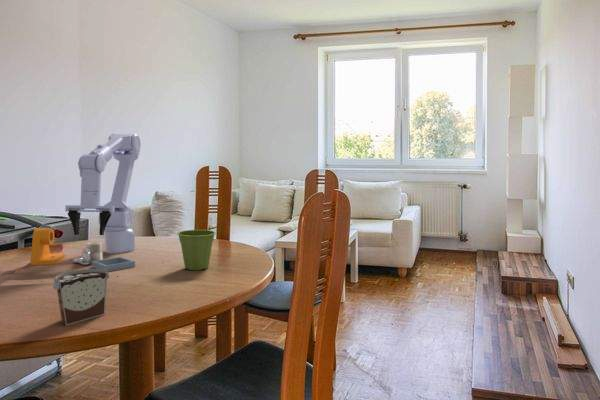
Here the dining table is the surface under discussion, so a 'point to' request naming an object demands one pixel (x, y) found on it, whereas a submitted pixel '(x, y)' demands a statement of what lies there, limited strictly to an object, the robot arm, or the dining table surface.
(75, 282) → the food container
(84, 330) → the dining table surface
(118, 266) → the tray
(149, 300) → the dining table surface
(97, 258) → the block
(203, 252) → the plant pot
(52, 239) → the bracket
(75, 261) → the crank
